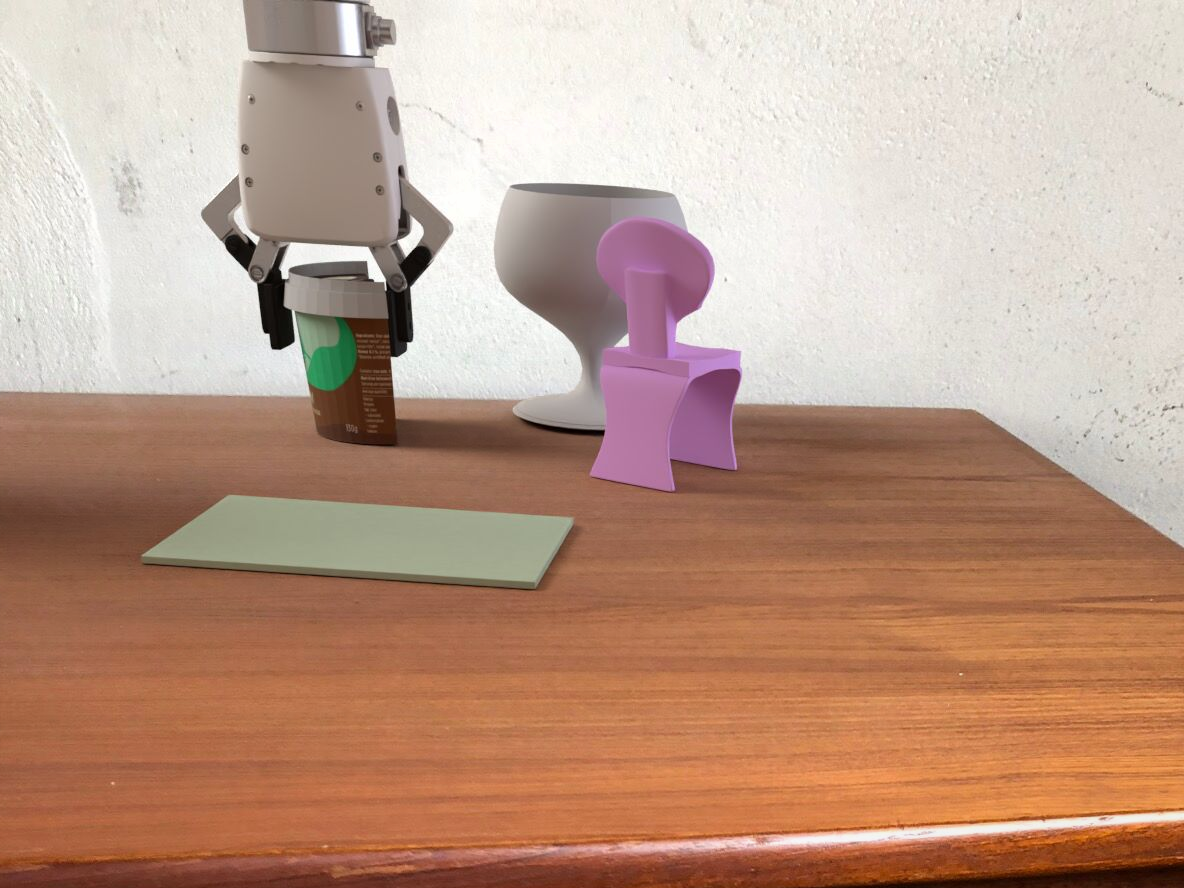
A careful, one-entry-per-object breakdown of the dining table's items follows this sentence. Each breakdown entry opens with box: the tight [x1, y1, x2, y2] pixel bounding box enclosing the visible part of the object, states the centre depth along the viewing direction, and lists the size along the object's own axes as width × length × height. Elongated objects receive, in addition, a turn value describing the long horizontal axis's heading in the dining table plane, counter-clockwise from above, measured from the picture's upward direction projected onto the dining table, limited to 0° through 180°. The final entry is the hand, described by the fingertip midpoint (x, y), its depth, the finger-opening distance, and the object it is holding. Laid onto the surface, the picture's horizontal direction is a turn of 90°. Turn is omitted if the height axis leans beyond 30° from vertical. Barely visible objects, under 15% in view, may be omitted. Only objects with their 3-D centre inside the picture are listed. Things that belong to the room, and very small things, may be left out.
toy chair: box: [589, 217, 743, 492], centre depth 95 cm, size 8×9×15 cm
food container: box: [283, 260, 399, 445], centre depth 102 cm, size 12×6×10 cm, turn 18°
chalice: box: [493, 182, 689, 432], centre depth 109 cm, size 14×14×15 cm
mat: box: [140, 494, 574, 590], centre depth 81 cm, size 20×13×1 cm, turn 88°
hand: (339, 348), depth 102 cm, fingers closed on food container, 7 cm apart
